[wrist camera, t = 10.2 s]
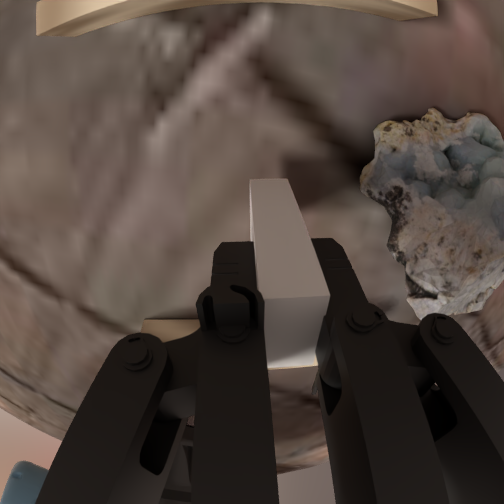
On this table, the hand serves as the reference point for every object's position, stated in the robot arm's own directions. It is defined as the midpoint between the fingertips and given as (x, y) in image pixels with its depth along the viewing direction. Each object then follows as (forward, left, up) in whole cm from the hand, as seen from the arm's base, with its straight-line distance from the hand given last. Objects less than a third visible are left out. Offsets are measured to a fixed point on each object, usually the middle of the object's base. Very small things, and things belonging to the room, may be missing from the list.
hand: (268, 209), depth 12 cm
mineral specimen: (+10, 0, -2) cm, 10 cm away
